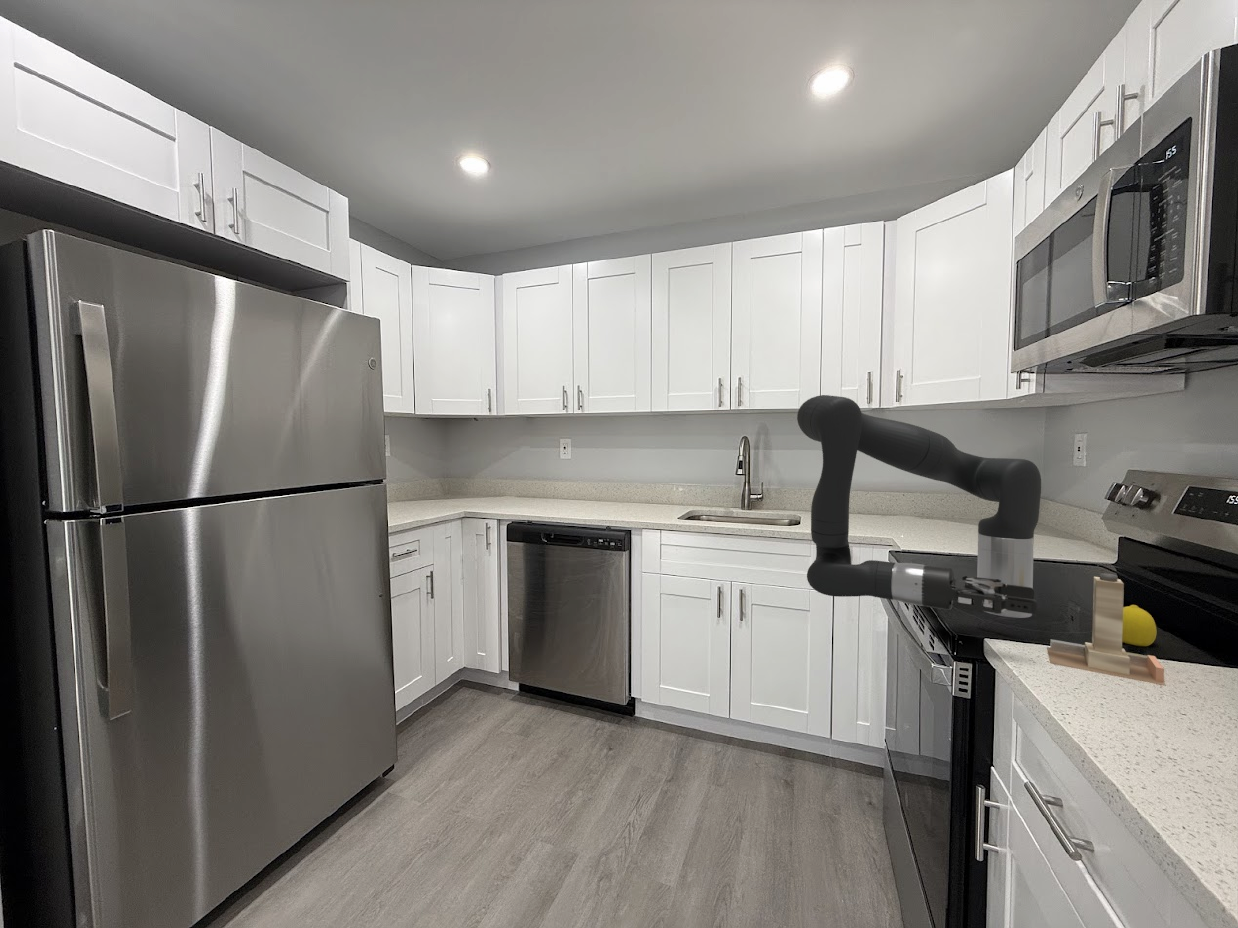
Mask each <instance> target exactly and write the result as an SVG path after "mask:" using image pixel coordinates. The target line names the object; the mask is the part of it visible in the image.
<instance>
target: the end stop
mask: <svg viewBox="0 0 1238 928" xmlns="http://www.w3.org/2000/svg"><path fill="white" fill-rule="evenodd" d="M1146 656H1147V668H1148V670H1149V671H1150V673H1151V674H1152V676H1153V677H1154V679H1155V680H1156V681H1160V682H1164V683H1165V668H1164V667H1163V665H1162V664H1161V662H1160V661H1159V660H1158V658H1157V657H1156V656H1155V655H1150V654H1147V655H1146Z"/></svg>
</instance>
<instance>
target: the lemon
mask: <svg viewBox="0 0 1238 928" xmlns="http://www.w3.org/2000/svg"><path fill="white" fill-rule="evenodd" d="M1156 638H1157V624H1156V622H1155V620H1154V617H1152V615H1151V614H1150V613H1149V612H1148V611H1147V610H1144V609H1143V608H1141V607H1139V606H1138V605H1136V604H1130V605H1129V606H1128V605H1127V606H1123V631H1122V643H1125V644H1127V645H1131V646H1132V645H1133V646H1138V647H1149V646H1150V645H1152V644H1153V643H1154V641H1155V640H1156Z"/></svg>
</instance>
